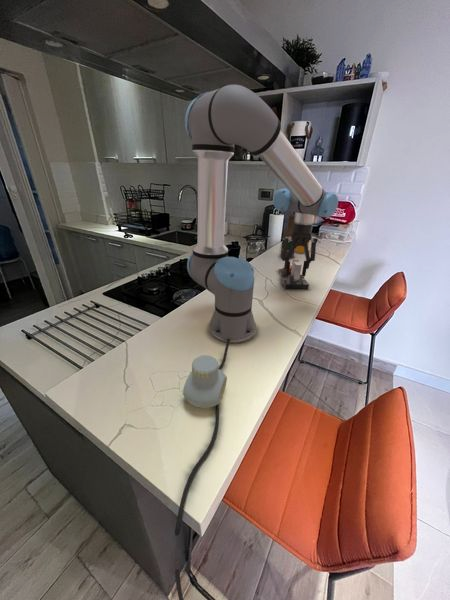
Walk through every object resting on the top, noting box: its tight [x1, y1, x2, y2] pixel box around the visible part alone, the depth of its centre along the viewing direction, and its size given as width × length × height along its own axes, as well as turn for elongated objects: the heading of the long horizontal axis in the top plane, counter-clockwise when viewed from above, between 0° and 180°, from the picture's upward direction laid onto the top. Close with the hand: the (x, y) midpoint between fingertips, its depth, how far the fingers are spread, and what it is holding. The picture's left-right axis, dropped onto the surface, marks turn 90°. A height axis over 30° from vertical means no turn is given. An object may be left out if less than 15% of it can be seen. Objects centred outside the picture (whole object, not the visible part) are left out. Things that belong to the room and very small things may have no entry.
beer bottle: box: [280, 213, 296, 260], centre depth 145 cm, size 8×8×24 cm
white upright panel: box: [290, 259, 303, 282], centre depth 114 cm, size 6×2×8 cm, turn 0°
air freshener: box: [182, 354, 228, 409], centre depth 59 cm, size 11×8×10 cm
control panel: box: [280, 274, 310, 291], centre depth 117 cm, size 11×10×3 cm
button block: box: [278, 267, 291, 276], centre depth 126 cm, size 10×8×3 cm
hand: (295, 275), depth 115 cm, fingers open, 7 cm apart
